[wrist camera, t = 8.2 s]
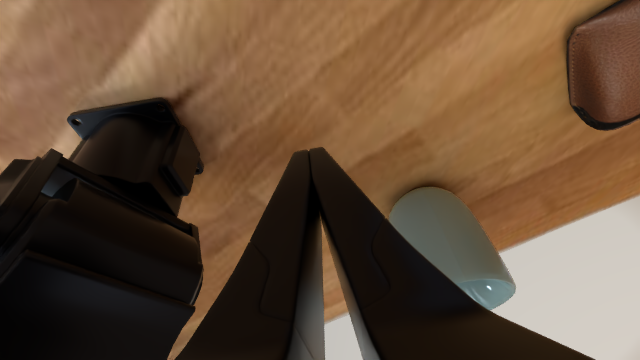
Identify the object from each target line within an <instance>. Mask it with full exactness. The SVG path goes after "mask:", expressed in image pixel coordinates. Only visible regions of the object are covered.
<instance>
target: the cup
mask: <svg viewBox="0 0 640 360" xmlns="http://www.w3.org/2000/svg"><path fill="white" fill-rule="evenodd" d="M388 221H389V222H390V223H391V224H392V225H393V226H394V227H395V228H396V230H397V231H398V232H399V233H400V234H401V235H402V236H403V237H404V238H405V239H406V240H407V241H408V242H409V243H410V244H411V245H412V246H413V247H414V248H415V249H417V250H418V251H419V252H420V253H421V254H422V255H423V256H424V257H425V258H426V259H428V260H429V261H430V262H431V263H432V264H433V265H434V266H436V267H437V268H438V269H439V270H440V271H441V272H442V273H444V274H445V275H446V276H447V277H448V278H449V279H450V280H452V281H453V282H454V283H455V284H456V285H457V286H458V287H460V288H461V289H462V290H463V291H464V292H465V293H466V294H468V295H469V296H470V297H471V298H472V299H474V300H475V301H476V302H478V303H479V304H480V305H482V306H483V307H485V308H486V309H488V310H492V309H494V308H496V307H498V306H500V305H501V304H503V303H504V302H506V301H507V300H509V298H511V297H512V296H513V294H514V293H515V289H516V286H515V283H514V280H513V278H512V276H511V275H510V273H509V271H508V269H507V267H506V266H505V264H504V262H503V260H502V259H501V257H500V255H499V253H498V252H497V250H496V248H495V247H494V245H493V243H492V241H491V240H490V238H489V236H488V235H487V233H486V232H485V230H484V228H483V227H482V225H481V224H480V222H479V221H478V219H477V218H476V216H475V215H474V214H473V212H472V211H471V210H470V209H469V207H468V206H467V205H466V204H465V203H464V202H463V201H462V200H461V199H460V198H459V197H457V196H456V195H455V194H454V193H452V192H450V191H448V190H446V189H442V188H439V187H421V188H417V189H414V190H412V191H410V192H408V193H407V194H405V195H404V196H402V197H401V198H400V199H399V200H398V201H397V202H396V203H395V205H394V206H393V208H392V209H391V212H390V215H389V218H388Z"/></svg>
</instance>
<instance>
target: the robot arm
mask: <svg viewBox="0 0 640 360" xmlns="http://www.w3.org/2000/svg"><path fill="white" fill-rule="evenodd" d="M158 104H159V105H163V106H164V107H165V108H161V107H159V106H158ZM75 119H77V120H79V121H80V122H78V121H77V120H75ZM67 121H68V123H69V124H70V126H71V127H72V128H73V129H74V130H75V131H76V132H77V134H78V135H79V136H80V137H81V138H82V141H81V142H80V144H79V145H78V146H77V148H76V149H75V151H74V152H73V153H72V155H71V156H70V158H69V159H66V158H64V157H63V154H61V153H59V152H58V151H56V150H54V149H52V148H51V149H50V150H49V151H48V152H47V153H46V154H45V155H44V156H43V157H42V158H40V157H36V158H35V159H33V160H22V159H14V160H13V161H12V162H11V163H10V164H9V165H8V167H7V168H6V169H5V170H4V171H3V172H2V173H1V174H0V360H167V358H168V355H169V353H170V351H171V349H172V346H173V344H174V343H175V341H176V339H177V337H178V335H179V334H180V332H181V330H182V328H183V327H184V326H185V324H186V323H187V322H188V320H189V319H190V317H191V316H192V315H193V313H194V312H195V306H193V305H194V304H195V302H196V300H197V297H198V295H199V293H200V290H201V286H202V281H203V271H204V269H203V264H202V259H201V250H200V241H199V233H198V227H197V226H195V225H193V224H191V223H189V224H188V223H186V222H184V221H182V220H180V219H179V218H177V216H178V212H179V209H180V205H181V202H182V198H183V196H188V194H189V193H190V191H191V187H192V183H193V179H194V175H197V174H201V173H202V172H203V169H204V165H203V163H202V161H201V160H200V158H199V156H200V153H199V151H198V149H197V147H196V146H195V144H194V142H193V140H192V138H191V136H190V135H189V133H188V131H187V129H186V128H185V127H184V126H183V125H181V123H180V121H179V119H178V118H177V116H176V114H175V112H174V110H173V108H172V107H171V105H170V103H169V102H168V101H167V100H166V99H164V98H154V99H148V100H143V101H137V102H131V103H125V104H119V105H114V106H108V107H102V108H96V109H90V110H84V111H79V112H73V113H71V114H70V116H69V117H68V118H67ZM198 168H199V169H198ZM320 216H321V217H320ZM321 220H322V224H323V228H324V231H325V234H326V238H327V241H328V244H329V248H330V251H331V254H332V258H333V261H334V264H335V268H336V271H337V274H338V278H339V281H340V284H341V288H342V291H343V294H344V297H345V301H346V304H347V307H348V311H349V314H350V317H351V321H352V324H353V327H354V331H355V334H356V337H357V340H358V344H359V347H360V351H361V354H362V357H363V360H595V359H593V358H591V357H589V356H586V355H584V354H582V353H580V352H578V351H575V350H573V349H571V348H569V347H567V346H564V345H562V344H560V343H558V342H556V341H553V340H551V339H549V338H547V337H544V336H542V335H540V334H538V333H536V332H533V331H531V330H529V329H527V328H525V327H522V326H520V325H518V324H516V323H514V322H511V321H509V320H507V319H505V318H503V317H501V316H498V315H496V314H495V313H493V312H491V311H490V310H488V309H486V308H485V307H483V306H482V305H480V304H479V303H478V302H476V301H475V300H474V299H472V298H471V297H470V296H469V295H468V294H466V293H465V292H464V291H463V290H462V289H461V288H460V287H458V286H457V285H456V284H455V283H454V282H453V281H452V280H450V279H449V278H448V277H447V276H446V275H445V274H444V273H442V272H441V271H440V270H439V269H438V268H437V267H436V266H434V265H433V264H432V263H431V262H430V261H429V260H428V259H426V258H425V257H424V256H423V255H422V254H421V253H420V252H419V251H418V250H417V249H415V248H414V247H413V246H412V245H411V244H410V243H409V242H408V241H407V240H406V239H405V238H404V237H403V236H402V235H401V234H400V233H399V232H398V231H397V230H396V228H395V227H394V226H393V225H392V224H391V223H390V222H389V221H388V220H387V219H386V218H385V216H384V215H383V214H382V213H381V212H380V211H379V210H378V208H377V207H376V206H375V205H374V204H373V203H372V202H371V201H370V199H369V198H368V197H367V196H366V195H365V194H364V193H363V192H362V190H361V189H360V188H359V187H358V186H357V185H356V184H355V183H354V181H353V180H352V179H351V178H350V177H349V176H348V175H347V174H346V172H345V171H344V170H343V169H342V168H341V167H340V166H339V165H338V163H337V162H336V161H335V160H334V159H333V158H332V157H331V156H330V154H329V153H328V152H327V151H326V150H325V149H324V148H323V147H318V148H313V149H310V150H309V151H308V150H302V151H296V152H294V153H293V155H292V157H291V159H290V161H289V163H288V165H287V167H286V169H285V171H284V173H283V175H282V177H281V179H280V181H279V183H278V185H277V187H276V189H275V191H274V193H273V195H272V197H271V199H270V201H269V203H268V205H267V207H266V209H265V211H264V213H263V215H262V217H261V219H260V221H259V223H258V225H257V227H256V229H255V231H254V233H253V235H252V237H251V239H250V242H249V243H248V245H247V247H246V249H245V251H244V253H243V255H242V257H241V259H240V260H239V262H238V264H237V266H236V268H235V270H234V272H233V273H232V275H231V276H230V278H229V280H228V281H227V283H226V285H225V286H224V288H223V289H222V291H221V293H220V294H219V296H218V297H217V299H216V300H215V302H214V303H213V305H212V306H211V308H210V310H209V311H208V313H207V314H206V316H205V317H204V319H203V320H202V322H201V323H200V325H199V326H198V328H197V330H196V331H195V333H194V334H193V336H192V337H191V339H190V340H189V342H188V343H187V345H186V346H185V347H184V349H183V350H182V351H181V353H180V354H179V355H178V356H177V357H176V359H175V360H325V343H324V342H325V341H324V303H323V266H322V229H321Z"/></svg>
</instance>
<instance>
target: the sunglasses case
mask: <svg viewBox="0 0 640 360" xmlns="http://www.w3.org/2000/svg"><path fill="white" fill-rule="evenodd" d="M567 75H568V90H569V99H570V105H571V106H572V108H573V109H574V111H575V112H576V113H577V114H578V116H579V117H580V118H581V120H583V121H584V122H585V123H586V124H587V125H589V126H590V127H593V128H595V129H597V130H604V131H608V130H615V129H619V128H621V127H624V126H627V125H629V124H631V123H633V122H635V121H637V120H639V119H640V0H620V1H618V2H616V3H614V4H613V5H611V6H609V7H608V8H606V9H604V10H603V11H601V12H599V13H598V14H596V15H594V16H593V17H591V18H589V19H588V20H586V21H584V22H583V23H581V24H580V25H578V26H576V27H575V28H574V30H573V32H572V33H571V35H570V36H569V39H568V41H567Z"/></svg>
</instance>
